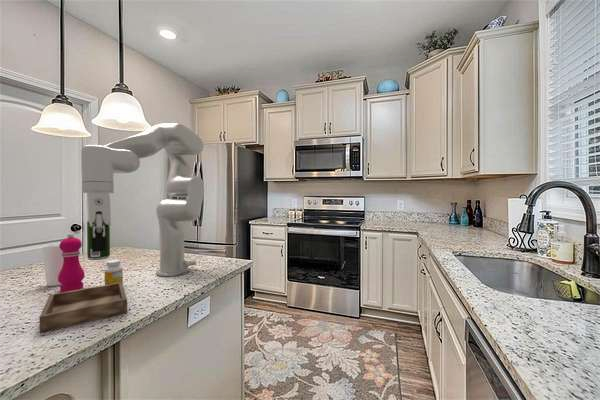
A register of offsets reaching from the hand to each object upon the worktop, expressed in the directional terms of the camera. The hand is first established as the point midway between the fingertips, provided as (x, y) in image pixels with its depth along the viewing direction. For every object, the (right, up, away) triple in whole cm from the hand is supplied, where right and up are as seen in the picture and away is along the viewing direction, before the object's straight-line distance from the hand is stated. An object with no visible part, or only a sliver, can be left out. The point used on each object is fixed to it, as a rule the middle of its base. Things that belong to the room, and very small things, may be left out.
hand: (98, 248), depth 79 cm
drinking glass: (-32, -17, +21) cm, 42 cm away
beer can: (0, -3, 0) cm, 3 cm away
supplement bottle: (-8, -17, +18) cm, 26 cm away
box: (-2, -18, -1) cm, 18 cm away
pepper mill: (-21, -18, +16) cm, 32 cm away
